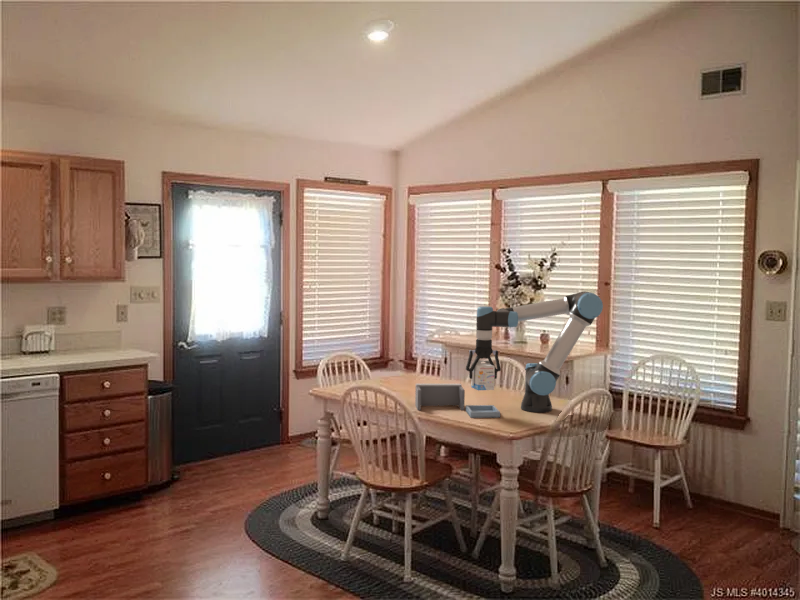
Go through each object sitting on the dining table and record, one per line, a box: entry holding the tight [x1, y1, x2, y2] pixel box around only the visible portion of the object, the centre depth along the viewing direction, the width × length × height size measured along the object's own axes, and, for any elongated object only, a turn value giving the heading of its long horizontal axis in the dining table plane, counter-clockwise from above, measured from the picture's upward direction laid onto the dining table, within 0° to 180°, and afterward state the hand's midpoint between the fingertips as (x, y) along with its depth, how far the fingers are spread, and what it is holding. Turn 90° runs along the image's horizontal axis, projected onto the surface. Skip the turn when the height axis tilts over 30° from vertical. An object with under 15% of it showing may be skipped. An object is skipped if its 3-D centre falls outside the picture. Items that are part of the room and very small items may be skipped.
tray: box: [464, 404, 501, 419], centre depth 342 cm, size 14×15×3 cm
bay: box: [414, 383, 466, 411], centre depth 354 cm, size 23×13×11 cm, turn 94°
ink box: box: [470, 360, 496, 391], centre depth 340 cm, size 9×8×13 cm
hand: (482, 385), depth 341 cm, fingers closed on ink box, 9 cm apart
